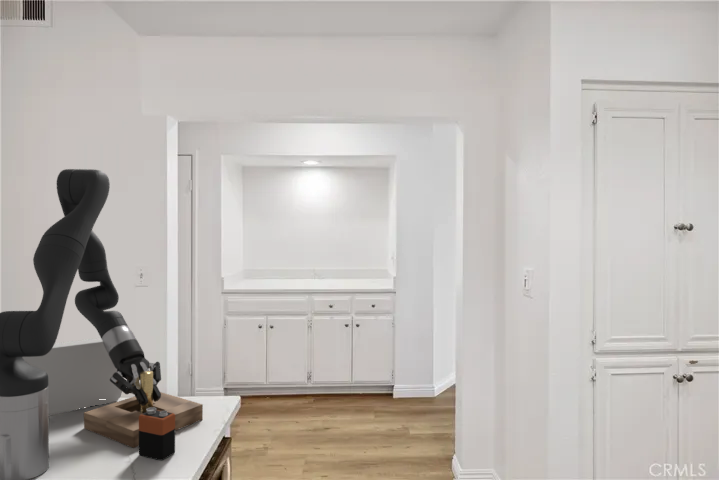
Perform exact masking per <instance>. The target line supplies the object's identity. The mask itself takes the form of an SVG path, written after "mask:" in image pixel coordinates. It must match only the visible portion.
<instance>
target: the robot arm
mask: <svg viewBox="0 0 719 480" xmlns="http://www.w3.org/2000/svg"><path fill="white" fill-rule="evenodd" d="M110 183H111V182H110V179H109V176H108V174H106V172H105V171H103V170H99V169H95V168H94V169H89V168H88V169H86V168H84V169H83V168H82V169H81V168H79V169H78V168H77V169H76V168H69V169H68V168H67V169H65V168H64V169H63V170H60V172H59V173H58V175H57V178H56V191H57V197H58V200H59V203H60V206H61V209H62V213H63V217H62V218H61V219H58V220H57V221H56V222H55V223H54V224H52V225H51V226H50V227H48V228H47V230H45V232H44V233H43V235H42V236H41V238H40V241H39V242H38V245H37V248H36V249H35V252H34V254H33V259H32V261H33V268H34V270H35V273H36V275H37V277H38V280H39V282H40V284H41V288H42V291H43V292H42V297H41V298H42V299H41V302H40V304H39V307H38V308H37V310H8V311H7V310H5V311H1V312H0V480H31V479H34V478H36V477H39V476H40V475H41V474H44V473H45V472H47V470H48V469H49V467H50V466H49V465H50V453H49V452H50V448H49V445H50V443H49V441H50V438H49V437H50V436H49V434H50V433H49V431H50V429H49V428H50V427H49V416H50V415H49V403H48V400H49V396H48V374H47V372H45V371H44V370H42V369H39V368H36V367H34V366H32V365H30V364H28V363H27V362H26V361H25V360H24V359H23V357H37V356H44V355H46V354H47V353H49V352H50V350H51V349H52V348H53V346H54V344H55V343H56V341H57V339H58V336H59V331H60V329H61V326H62V325H61V324H62V321H63V318H64V312H65V309H66V305H67V301H68V297H69V294H70V291H71V288H72V285H73V282H74V279H75V278H76V277H75V276H76V275H77V272H78V276H79V279H80V280H81V281H83V282H86V283H95V282H96V283H97V282H98V283H99V285H96V286H93V287H89V288H85V289H82V290H79V291H78V292H76V294H75V297H74V305H75V308H76V309H77V311H78V312H79V313H80V315H82V316H83V317H84V318H85V319H87V321H88V322H89V323H90V324H91V325H92V326H93V327H94V328H95V329H96V331H97V333H98V335H99V336H100V337H99V338H101V339H102V341H103V344H104V347H105V349H106V351H107V353H108V355H109V357H110V359H111V361H112V362H113V364H114V366H115V368H116V369H117V372H115V373H114V374H113V375H112V377H111V378H110V381H111V382H112V383H113V384H114V385H115V386H116V387H118V388H119V389H120V390H121V391H122V393H124V394H125V395H129V394H132V395H134V396H135V397H136V399H137V401H138V403H139V404H141V405H142V406H145V405H146V404H147V403H148V399H147V397H146V395H145V393H144V391H143V389H140V388H141V386H140V373H141V372H144V371H152V372H153V400H154V402H156V401H158V400H159V399H160V398H161V393H160V392H161V391H160V390H159V387H158V386H157V385H158V384H159V383H160V381H162V374H161V373H162V371H161V363H160V361H156V362H150V361H149V360H148V359H147V358H146V357H145V352H144V351H143V349H142V347H141V345H140V342H139V340H137V338H136V336H135V334H134V332H133V331H132V329H131V328H130V327H129V325H128V323H127V321H126V319H125V318H124V316H123V315H122V313H121V312H120V311H118V310H110V309H113V308H115V307H116V306H117V305H118V302H119V293H118V291H117V289H116V287H115V285H114V282H113V281H112V279H111V275H110V272H109V269H108V262H107V254H106V250H105V246H104V245H103V243H102V241H101V239H100V238H99V236H98V235H97V234H96V233H95V232H94V231H93V229H94V226H95V224H96V222H97V220H98V218H99V216H100V214H101V212H102V210H103V208H104V206H105V205H106V201H107V200H108V196H109V193H110Z"/></svg>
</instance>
